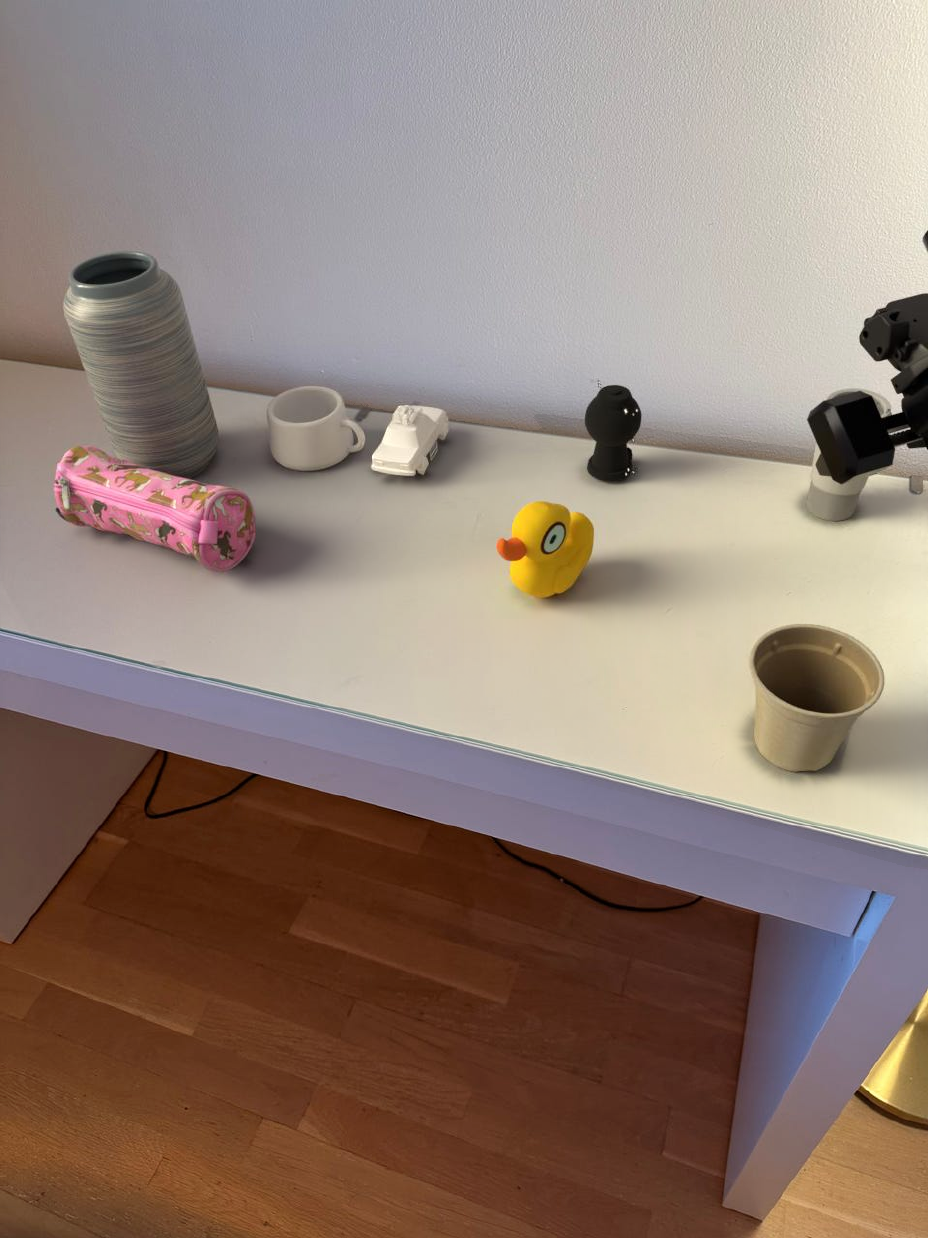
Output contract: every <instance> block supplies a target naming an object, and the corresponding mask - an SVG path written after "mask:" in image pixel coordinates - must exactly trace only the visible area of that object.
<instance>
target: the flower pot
mask: <svg viewBox="0 0 928 1238" xmlns="http://www.w3.org/2000/svg"><path fill="white" fill-rule="evenodd" d="M750 650H751V651H750V652H749V657H748V658H749V659H748V661H749V662H748V665H749V670H750V674H751V677H752V679H753V684H754V687H755V704H754V705H755V706H754V707H755V708H754V727H753V738H754V742H755V745H756V747H757V750H758V752H759V753H760V754H761V755H762V756H763V757H764V759H766V760H767V761H768V762H770V763H771V764H773V765H774V766H776V767H778V768H781V769H783V770H786V771H788V772H789V771H790V772H795V773H797V772H802V771H803V772H804V771H812V772H813V771H815V772H816V771H818V770H820V769H823V768H824V767H826V766H827V765H829V764H830V763H831V762H832V760H833V759H834V757H835V755H836V753H837V752H838V750H839V748H840V747H841V745H842V743H843V741H844V740H845V739H846V737H847V735H848V734H849V732H850V730H851V729H852V727H853V725H854V724H855V722H856V721H857V720H858V718H859V717H861V716H862V715H863V714H864V713H865V712H866V711H869V709H871V708H872V707H873V706H874V705H875V704H876V703H877V702H878V700H879V699H880V698H881V695H882V693H883V691H884V689H885V688H884V687H885V672H884V669H883V667H882V664H881V662H880V661H879V659H878V657H877V656H876V654H875V653H873V652H872V650H871V649H870V648H869V647H868V646H866V645H865V644H864V642H861V641H860V640H859V639H857V638H855V637H854V636H853V635H849V634H848V633H846V632H844V631H841V630H838V629H835V628H831V627H828V626H824V625H819V624H811V623H794V624H787V625H783V626H779V627H776V628H773V629H771V630H769V631H767V632H765V633H764V634H763V635H761V636H760V637H759V638H758V639H757V640H756V641H755V642H754V644H753V646H752V648H751V649H750Z"/></svg>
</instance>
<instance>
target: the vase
mask: <svg viewBox="0 0 928 1238" xmlns="http://www.w3.org/2000/svg"><path fill="white" fill-rule="evenodd" d="M67 280H68V283H69V287H68V288H67V291H66V292H65V295H64V299H63V302H62V303H63V304H62V308H63V315H64V318H65V320H66V323H67V327H68V329H69V331H70V334H71V336H72V339H73V342H74V345H75V348H76V350H77V353H78V356H79V359H80V361H81V364H82V367H83V369H84V372H85V374H86V378H87V380H88V384H89V386H90V389H91V391H92V394H93V396H94V400H95V403H96V404H97V409H98V411H99V413H100V416H101V419H102V421H103V424H104V427H105V429H106V432H107V435H108V438H109V441H110V442H111V446H112V449H113V451H114V454H115V458H119V459H122V460H125V461H128V462H131V463H134V464H137V465H140V466H143V467H146V468H148V469H151V470H154V471H159V472H163V473H166V474H169V475H173V476H177V477H182V478H186V479H192V478H194V477H197V476H198V475H199V474H201V473H202V472H203V471H205V470H206V469H207V468H208V466H209V465H210V463H211V461H212V458H213V457H214V455H215V453H216V451H217V449H218V446H219V443H220V431H219V427H218V424H217V420H216V417H215V413H214V409H213V405H212V402H211V397H210V394H209V390H208V387H207V383H206V379H205V376H204V372H203V367H202V364H201V361H200V358H199V354H198V353H199V352H198V349H197V346H196V342H195V339H194V338H195V337H194V334H193V331H192V327H191V324H190V320H189V317H188V312H187V308H186V305H185V302H184V297H183V293H182V291H181V288H180V286H179V284H178V282H177V281H176V280H175V278H173V276H171V275H170V274H169V272H167V271H166V270H165V269H164V270H163V269H162V268H160V266H159V262H158V260H157V259H156V258H155V257H154V256H153V255H151V254H149V253H146V252H142V251H137V250H121V251H113V252H107V253H102V254H99V255H95V256H92V257H90V258H87V259H84V260H83V261H81V262H79V263H78V264H76V265H75V266H73V267H72V268H71V269H70V271H69V273H68V276H67Z"/></svg>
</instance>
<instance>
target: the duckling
mask: <svg viewBox="0 0 928 1238" xmlns="http://www.w3.org/2000/svg"><path fill="white" fill-rule="evenodd" d="M510 532H511V537H510V538H508V539H505V538H502V537H500V538H498V540H497V542H496V550H497V553H498V555H499V556H500V557H501V558H502V559H504V560H505V561H508V562H510V566H509V578H510V580H511V582H512V584H513V585H514V586H515V587H516V588H517V589H518V590H520V591H521V592H522V593H524V594H526V595H528V596H531V597H534V598H539V599H540V598H541V599H543V598H544V599H545V598H549V597H551V596H553V595H555V594H557V595H559V594H562V593H564V592H565V591H567V590H568V589H570V588H571V587H572V586H573V585H574V584H575V582H576V581H577V579H578V578H579V576H580V574H581V573H582V571H583V569H584V567H586V565H587V564H588V562H589V560H590V559H591V557H592V554H593V550H594V541H595V527H594V523H592V521H591V520H590V518H589V517H588V516H587V515H585V514H584V513H582V512H579V511H574V512H570V510H569V508H568V507H566V506H565V505H563V504H560V503H554V502H548V501H544V500H537V501H533V502H530V503H528V504H526V505H524V506H523V507H522V508H521V509H520V510H519V511H518V512H517V514H516V515H515V516H514V519H513V521H512V524H511V531H510Z"/></svg>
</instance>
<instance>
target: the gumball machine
mask: <svg viewBox="0 0 928 1238" xmlns="http://www.w3.org/2000/svg"><path fill="white" fill-rule="evenodd" d="M597 387H598V388H600V389H599V391H598V392H597V394H596V396H595V397H594V398H593V399H592V400H591V401H590V402H589V403H588V405H587V407H586V410H585V414H584V425H585V429H586V431H587V433H588V435H589V437H591V438H592V439H593V440H594V441H595V446H594V450H593V454H592V455H591V456H590V457H589V458H588V460H587V464H586V470H587V472H588V474H589V476H591V477H592V478H595V479H596V480H599V481H602V482H618V481H621V480H625V479H627V478H628V477H629V476H631V474H633V475H635V472H637V473H638V472H639V470H638V469H639V468H637V467H635V468H634V469H633V467H634V466H633V456H634V454H633V449H632V448H630V447H629V446H628V442H633V443H635V436H636V435H637V434H638V432H639V431H640V428H641V426H642V425H641V424H642V410H641V408H640V407H641V406H640V405H639V403H638V402H637V400H636V399H635V398H634V397H633V395H632V392H631V390H630V389H629V388H627V387H626V386H623V385H620V384H611V385H610V384H609V385H605V386H603V387H602V384H601V381H600V380H599V379H598V380H597Z"/></svg>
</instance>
